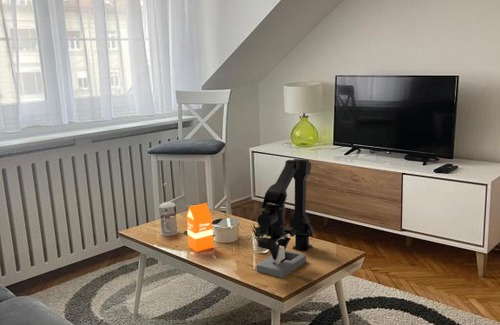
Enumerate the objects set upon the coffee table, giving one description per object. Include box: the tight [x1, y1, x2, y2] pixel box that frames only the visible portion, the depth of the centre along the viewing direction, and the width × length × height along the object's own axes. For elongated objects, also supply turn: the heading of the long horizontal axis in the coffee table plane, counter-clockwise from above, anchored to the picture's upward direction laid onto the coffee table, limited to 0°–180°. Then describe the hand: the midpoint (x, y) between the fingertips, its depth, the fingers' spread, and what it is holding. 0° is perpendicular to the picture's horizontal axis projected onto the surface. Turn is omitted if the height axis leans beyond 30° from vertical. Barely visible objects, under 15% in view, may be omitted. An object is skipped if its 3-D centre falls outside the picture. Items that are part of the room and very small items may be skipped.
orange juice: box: [186, 202, 214, 253], centre depth 230 cm, size 8×9×20 cm
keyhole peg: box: [270, 246, 286, 265], centre depth 204 cm, size 5×5×9 cm
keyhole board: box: [256, 249, 307, 279], centre depth 207 cm, size 18×12×3 cm, turn 143°
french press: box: [158, 182, 180, 237], centre depth 251 cm, size 10×12×25 cm
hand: (277, 257), depth 204 cm, fingers closed on keyhole peg, 4 cm apart
